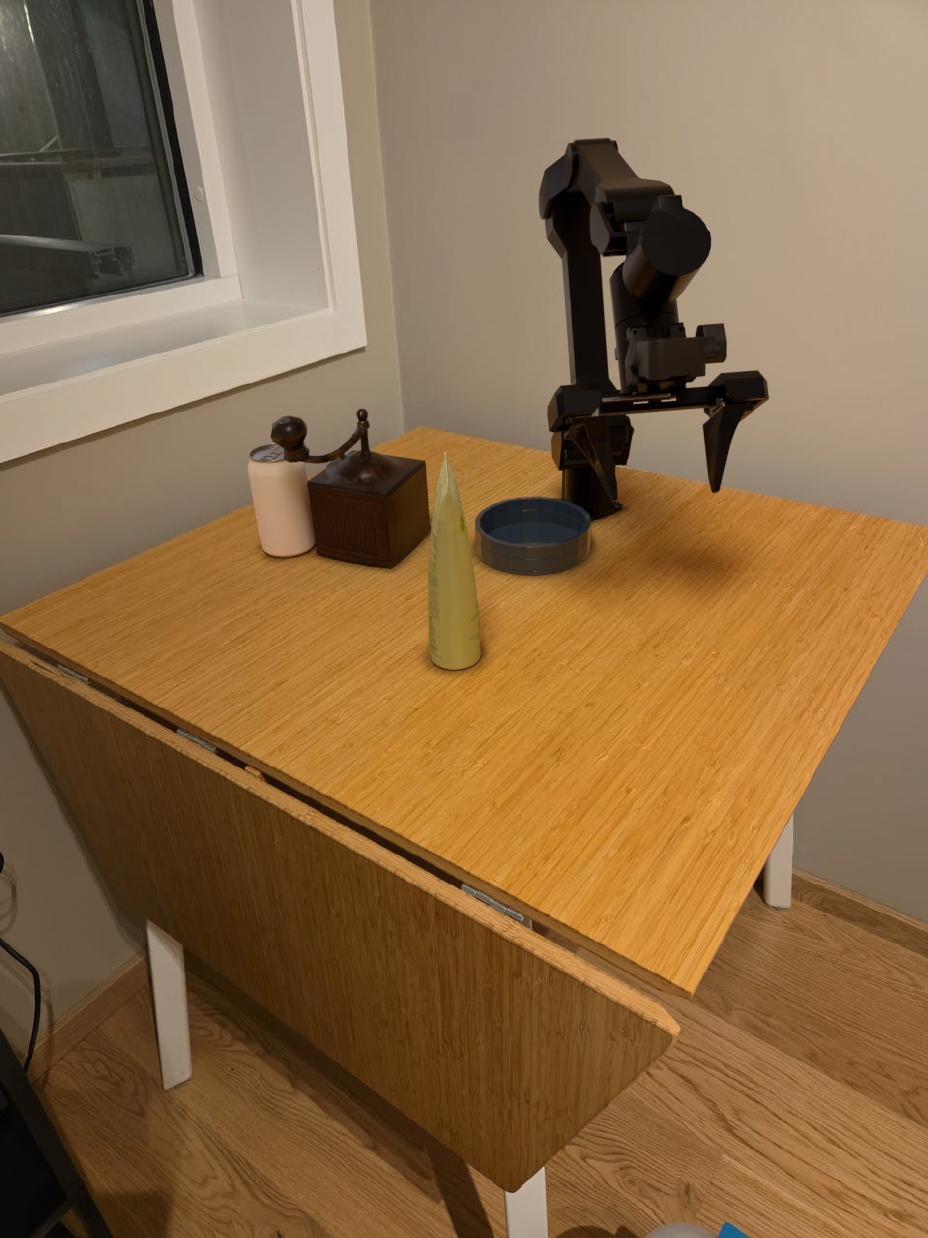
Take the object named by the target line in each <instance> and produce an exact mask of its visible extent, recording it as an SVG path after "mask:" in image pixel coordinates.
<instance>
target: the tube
mask: <svg viewBox="0 0 928 1238" xmlns="http://www.w3.org/2000/svg"><path fill="white" fill-rule="evenodd" d="M431 519H432V520H431V531H430V536H429V537H430V539H429V551H428V571H427V573H428V574H427V575H428V578H427V579H428V580H427V595H428V596H427V605H428V606H427V611H428V612H427V614H428V615H427V616H428V648H429V658H430V660H431V663H433V664H434V665H436V666H437V667H439V668H442V669H444V670H451V671H453V670H454V671H457V670H463V669H464V670H465V669H467V668H470V667H472V666H473V665H475V664H477V662H478V661H479V660H480V659H481V656H482V648H481V647H482V646H481V629H480V615H479V614H480V613H479V603H478V593H477V585H476V584H477V583H476V575H475V567H474V561H473V560H474V559H473V554H472V547H471V541H470V538H469V537H470V536H469V531H468V526H467V522H466V517H465V512H464V508H463V504H462V499H461V495H460V490H459V488H458V484H457V480H456V477H455V474H454V471H453V468H452V467H451V464H450V462H449V460H448V455H447V451H446V450H444V451H443V460H442V463H441V467H440V471H439V475H438V479H437V485H436V489H435V495H434V501H433V511H432V518H431Z"/></svg>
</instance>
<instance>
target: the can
mask: <svg viewBox="0 0 928 1238" xmlns="http://www.w3.org/2000/svg"><path fill="white" fill-rule="evenodd" d="M248 457H249V461H248V463H247V472H248V473H247V474H248V480H249V485H250V491H251V496H252V501H253V507H254V513H255V518H256V524H257V530H258V534H259V540H260V545H261V548H262V551H263V552H265V553H266V554H267V555H268V556H270V557H274V558H278V559H279V558H280V559H288V558H295V557H299V556H302V555H304V554H307V553H309V552H310V551H311V550H312V549H313V547H314V546H316V540H315V533H314V527H313V520H312V513H311V506H310V499H309V492H308V487H307V481H308V480H309V479H308V474H307V468H306V463H305V462H296V463H290V462H288V461H286V460H284V449H283V448H281V447H280V446H279V445H277V444H276V443H274V442H272V443H266V444H263V445H259V446H256V447H254V448H253V449H252V450H250V451H249V453H248Z"/></svg>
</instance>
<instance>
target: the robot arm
mask: <svg viewBox="0 0 928 1238" xmlns="http://www.w3.org/2000/svg"><path fill="white" fill-rule="evenodd" d="M538 212H539V218H540V220H544V229H545V235H546V236H545V237H546V240H547V241H548V243H549V244H550V245H551V247H552V248H553V250H554V251H555V252H556V254H557V255H558V256H559V258H560V260H561V266H562V267H561V269H562V281H563V297H564V309H565V323H566V337H567V348H568V350H567V351H568V363H569V365H568V366H569V375H570V376H569V377H570V384H562V385H559V387H558V388H557V389H556V390H555V391H554V393H553V395H552V397H551V399H550V401H549V403H548V404H547V409H546V412H547V413H546V415H547V425H548V432H549V433H552V435H551V438H550V448H551V449H550V453H551V459H552V461H553V462H554V465H555V467H556V469H557V471H558V472H561V498H559V499H560V500H564V501H568V502H571V503H574V504H576V505H578V506H580V507H582V508H583V509H584V510H585V511H586V512H587V513H588V514H589V515H590V518H591V521H593V520H596V519H599V518H602V517H604V516H606V515H609V514H612V513H614V512H617V511H620V510H622V509H624V508H623V507H624V504H623V503H622V502H619V501H618V500H619V495H618V482H617V476H616V467H617V466H622V467H624V466H628V460H630V453H631V448H632V442H633V437H634V434H635V427H634V426H633V425H632V422H631V418H630V416H629V415H636V414H637V415H638V414H648V413H661V412H673V411H687V410H701V409H702V410H703V413H704V414H705V415H706V416H708V417H709V418H708V419H707V420H706V421H705V422H704V423H703V424H702V434H703V442H704V450H705V451H704V452H705V462H706V470H707V479H708V483H709V486H710V487H709V488H710V492H711V494H717V493H719V492H720V491H721V487H722V482H723V478H724V474H725V470H726V466H727V461H728V456H729V453H730V447H731V444H732V442H733V439H734V436H735V432H736V430H737V428H738V425H739V424H740V423H741V422H742V421H743V420H745V419H746V418H747V417H749V416H750V415H751V414H753V413H754V412H755V410H757V409H758V408H759V407H761V406H762V405H763V404H764V403H766V402H767V401H768V400H770V395H769V386H768V380H767V379H766V378H765V377H764V375H763V374H762V373H761V372H760V371H759V369H757V370H756V369H755V370H754V369H753V370H742V371H730V372H720V373H719V374H718V375H717V376H716V377H715V378H714V379H713V380H712V381H711V382H710V383H709V384H708V385H705V386H693V387H687V384H688V383H693V382H694V381H695V380H696V379H697V378H701V377H706V369H707V368H706V365H708V364H711V365H712V364H723V363H725V361H726V360H727V358H728V357H727V356H728V341H727V335H726V329H725V323H724V322H722V323H721V322H719V323H706V324H699V325H697V326H696V329H695V335H694V336H688V337H687V332H686V327H685V324H684V321H680V318H679V316H680V315H679V309H678V300H677V299H678V298H679V297H680V296H682V294H683V293H684V292H685V291H686V289H687V288H688V286H690V284H691V282H692V280H694V278H695V276H696V275H697V274H698V272H699V271H700V269H701V268H702V267H703V266H704V264H705V263H706V261H707V259H708V257H709V255H710V253H711V249H712V235H711V231H710V230H709V229H708V227H707V225H706V224H705V222H704V221H703V220H702V218H701V217H700V216H699V215H697V214H696V213H695V212H694V211H692V210H689V208H685V207H684V205H683V196H682V194H676V193H675V191H674V188H673V187H672V186H671V185H670V184H668V183H666V182H664V181H661V180H658V179H649V178H641V177H640V176H639V175H637V173H636V172H635V171H634V169H633V168H632V167H631V166H630V165H629V163H628V162H627V160H625V159H624V157H623V156H622V154H621V153H620V152H619V145H618V142H617V140H616V139H611V138H610V137H598V138H579V139H578V138H577V139H574V140H573V141H572V142H568V143H567V146H566V148H565V152H564V154H563V155H562V156H561V157H559V158H558V159H557V160H556V161H554V162H553V163H552V164H550V165H549V166H548V167H547V168H545V170H544V171H543V175H542V179H541V182H540V186H539V192H538ZM601 257H602V258H611V257H625V259H624V261H622V262H621V263H620V264H618V266H616V267H615V269H614V270H613V272H612V274H611V275H610V277H609V280H608V281H609V282H608V283H609V290H610V291H609V292H610V301H611V311H612V320H613V329H614V338H615V339H614V340H615V348H614V359H615V361H617V366H618V375H619V385H620V389H617V387H616V386H615V384H614V383H613V382H612V380H611V379H610V373H609V359H608V358H609V357H608V344H607V330H606V327H607V326H606V314H605V300H604V299H605V298H604V284H603V269H602V258H601Z"/></svg>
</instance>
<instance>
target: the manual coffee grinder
mask: <svg viewBox="0 0 928 1238" xmlns="http://www.w3.org/2000/svg"><path fill="white" fill-rule="evenodd" d="M355 415H356V418H357V422H356V429H355V430H354V432H353V433H352V434H351V436H350V437H349V438H348V440H347V441H345V442H344V443H343V444H342V445H341V446H339V447H338V448H337V449H335V450H333V451H332V452H329V453H326V454H321V455H310V451H311V450H310V449H309V447H307V445H306V444H305V440H306V437H307V435H308V424H307V423H306V422H305V421H304V419H302V418H301V417H298V416H293V415H284V416H281V417H279V418H278V419H276V420H275V421H274V422H273V423H272V424H271V432H270V439H271V441H272V443H276V444H277V445H279V446H280V447H281V448H283V449H284V460H286V461H288V462H290V463H296V462H305V464H316V465H319V464H326V466H325V468H324V469H322V470H321V471H320V472H318V473H317V474H316V475H314V476H313V477H311V478H310V479H307V480H308V481H307V487H308V492H309V499H310V506H311V513H312V520H313V527H314V533H315V540H316V543H315V546H316V547H315V553H316V555H317V554H318V555H321V556H323V557H325V558H329V559H332V560H336V561H342V562H347V563H352V564H356V565H361V566H366V567H373V568H374V567H375V568H384V569H393V568H394V567H396V566H397V565H398V564H400V563H401V562H402V561H404V559H406V557H408V556H409V555H410V553H412V552H413V551H414V550H415V549H416V548H417V547H418V545H420V544H421V543H422V542H423V540H424V539H425V538H426V537H427V536H428V535H429V534H430V533H431V527H432V525H431V518H430V517H431V516H430V503H429V489H428V487H429V486H428V476H427V475H428V474H427V473H428V472H427V463H426V460H423V459H416V458H410V457H405V456H404V457H403V456H396V455H390V454H384V453H380V452H376V451H372V450H371V449H370V443H369V429H370V427H371V425H370V421H369V420H368V417H369V412H368V410H367V409H366V408H359V409H357V411H356V412H355ZM359 441H360V449H359V450H353V449H352V450H351V451H350V449H351V448H353V447H354V446H355V445H356V444H357V443H358V442H359ZM348 451H350V452H348ZM347 452H348V453H347Z"/></svg>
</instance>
